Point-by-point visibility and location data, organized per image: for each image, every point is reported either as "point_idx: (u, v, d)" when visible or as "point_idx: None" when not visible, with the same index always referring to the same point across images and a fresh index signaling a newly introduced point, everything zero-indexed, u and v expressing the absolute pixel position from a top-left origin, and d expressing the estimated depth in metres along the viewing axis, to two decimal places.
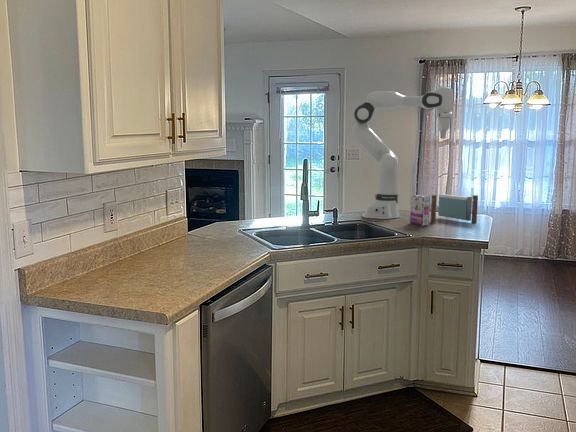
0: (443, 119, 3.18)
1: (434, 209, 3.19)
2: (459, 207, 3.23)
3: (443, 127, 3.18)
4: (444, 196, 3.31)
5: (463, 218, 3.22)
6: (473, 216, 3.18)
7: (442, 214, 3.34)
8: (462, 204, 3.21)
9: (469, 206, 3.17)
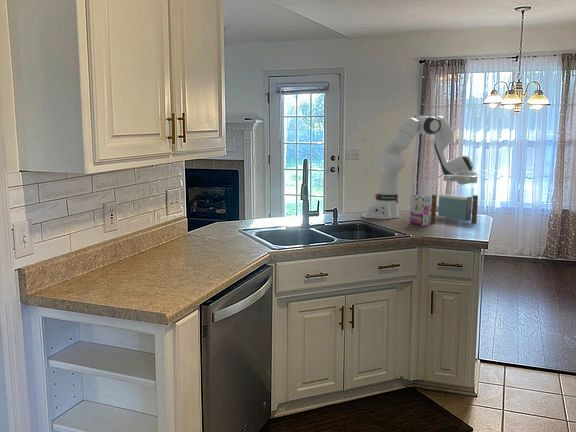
0: None
1: (434, 209, 3.19)
2: (459, 207, 3.23)
3: (476, 177, 3.39)
4: (444, 196, 3.31)
5: (463, 218, 3.22)
6: (473, 216, 3.18)
7: (442, 214, 3.34)
8: (462, 204, 3.21)
9: (469, 206, 3.17)
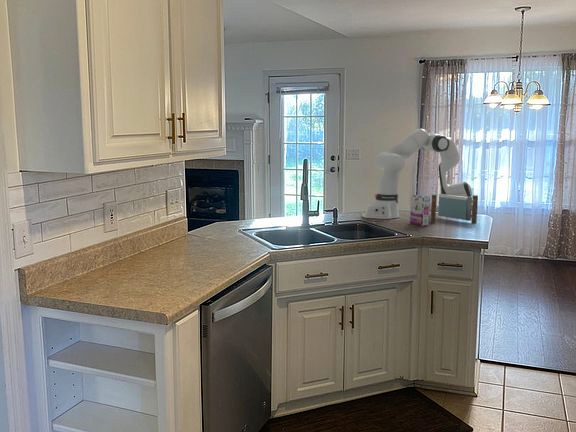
0: None
1: (434, 209, 3.19)
2: (459, 207, 3.23)
3: None
4: (444, 196, 3.31)
5: (463, 218, 3.22)
6: (473, 216, 3.18)
7: (442, 214, 3.34)
8: (462, 204, 3.21)
9: (469, 206, 3.17)
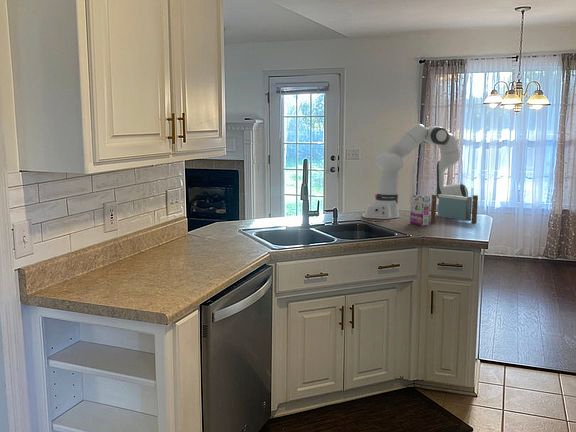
0: None
1: (434, 209, 3.19)
2: (459, 207, 3.23)
3: None
4: (444, 196, 3.31)
5: (463, 218, 3.22)
6: (473, 216, 3.18)
7: (442, 214, 3.34)
8: (462, 204, 3.21)
9: (469, 206, 3.17)
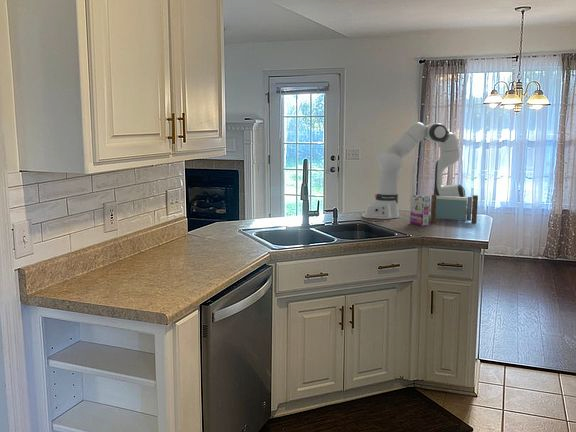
0: None
1: (434, 209, 3.19)
2: (457, 208, 3.21)
3: None
4: (438, 197, 3.25)
5: (463, 218, 3.20)
6: (473, 216, 3.18)
7: (436, 216, 3.27)
8: (462, 204, 3.19)
9: (470, 206, 3.17)
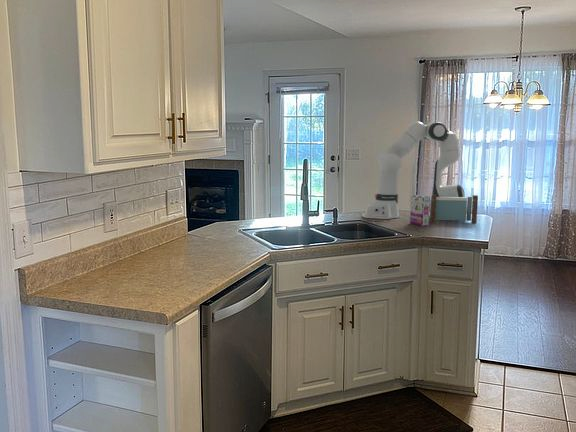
0: None
1: (434, 209, 3.19)
2: (458, 208, 3.19)
3: (466, 209, 3.23)
4: (438, 198, 3.20)
5: (463, 219, 3.19)
6: (473, 216, 3.18)
7: None
8: (462, 204, 3.18)
9: (470, 206, 3.18)
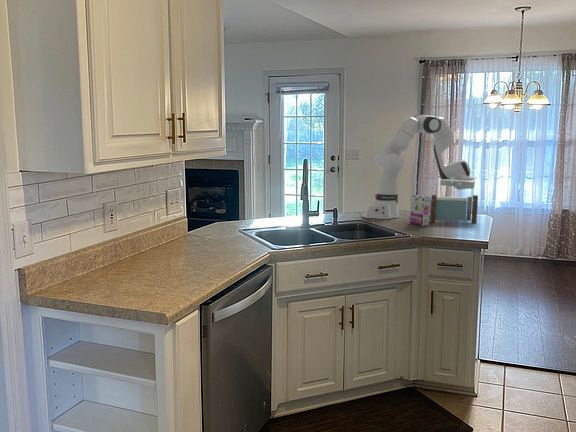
0: None
1: (434, 209, 3.19)
2: (458, 208, 3.19)
3: (474, 182, 3.36)
4: (438, 198, 3.20)
5: (463, 219, 3.19)
6: (473, 216, 3.18)
7: None
8: (462, 204, 3.18)
9: (470, 206, 3.18)
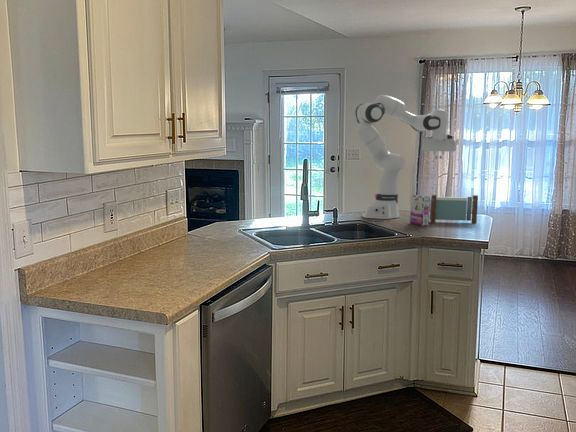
0: (454, 141, 3.40)
1: (434, 209, 3.19)
2: (458, 208, 3.19)
3: (455, 148, 3.41)
4: (438, 198, 3.20)
5: (463, 219, 3.19)
6: (473, 216, 3.18)
7: None
8: (462, 204, 3.18)
9: (470, 206, 3.18)
